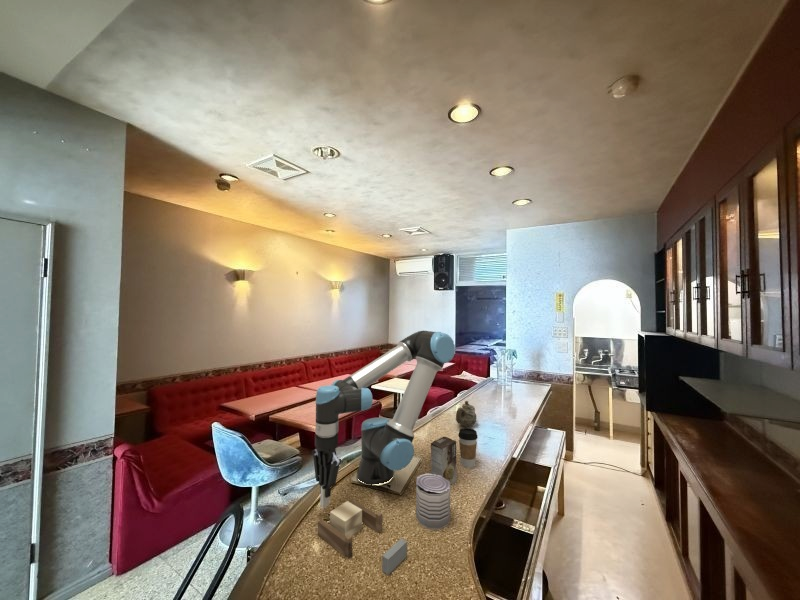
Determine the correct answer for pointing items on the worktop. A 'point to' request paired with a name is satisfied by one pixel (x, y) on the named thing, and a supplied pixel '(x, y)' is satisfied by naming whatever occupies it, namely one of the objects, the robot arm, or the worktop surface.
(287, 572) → the worktop surface
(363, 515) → the chute
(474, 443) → the coffee cup
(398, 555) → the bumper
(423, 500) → the can
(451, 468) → the coffee box
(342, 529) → the block
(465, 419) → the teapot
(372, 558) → the worktop surface
